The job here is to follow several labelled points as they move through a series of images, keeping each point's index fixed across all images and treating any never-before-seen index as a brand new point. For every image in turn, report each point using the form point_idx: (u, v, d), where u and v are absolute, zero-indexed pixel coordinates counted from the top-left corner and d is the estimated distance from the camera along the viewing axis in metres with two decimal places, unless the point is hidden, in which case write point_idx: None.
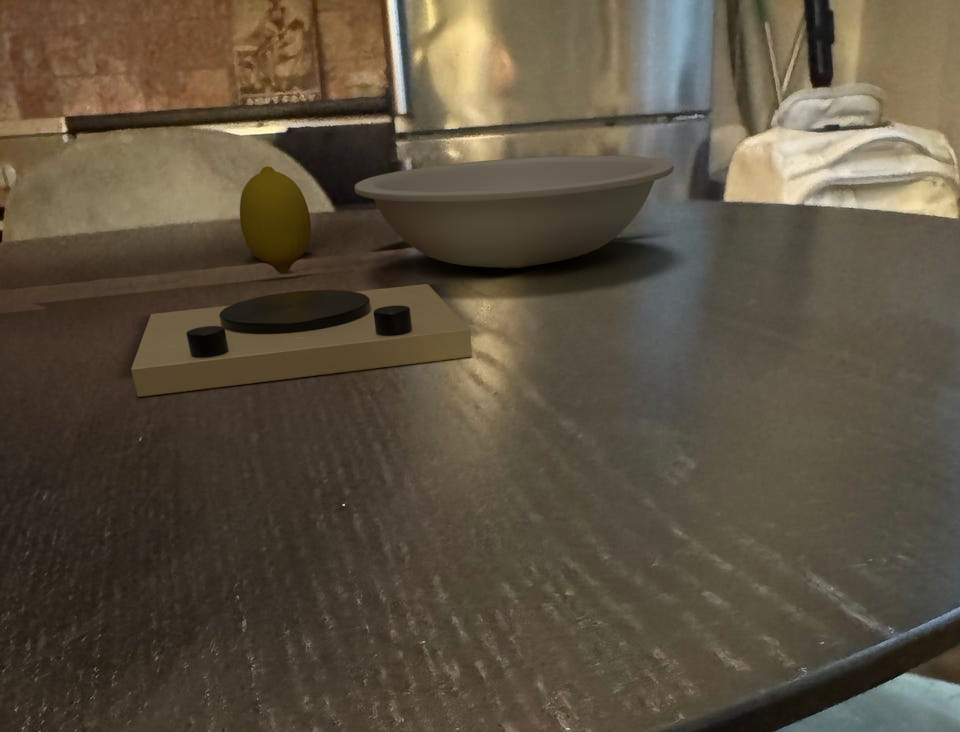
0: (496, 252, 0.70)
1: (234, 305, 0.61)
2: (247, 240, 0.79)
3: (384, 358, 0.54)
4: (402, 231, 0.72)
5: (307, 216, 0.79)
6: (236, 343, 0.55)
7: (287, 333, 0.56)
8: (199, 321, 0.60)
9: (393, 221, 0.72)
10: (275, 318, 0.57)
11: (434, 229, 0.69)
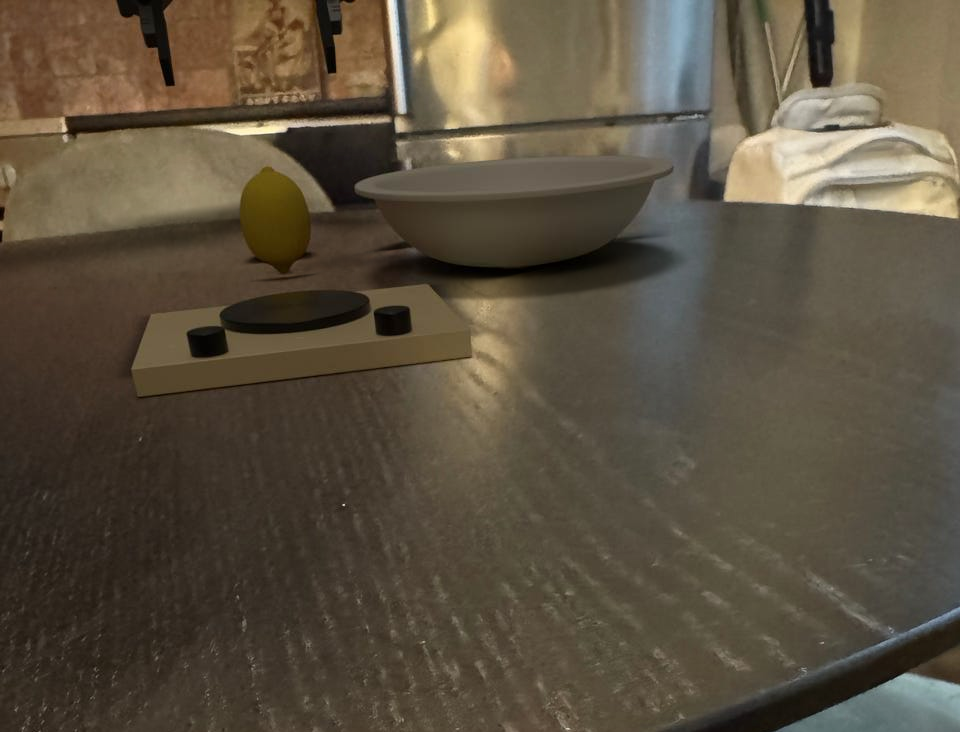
0: (496, 252, 0.70)
1: (234, 305, 0.61)
2: (247, 240, 0.79)
3: (384, 358, 0.54)
4: (402, 231, 0.72)
5: (307, 216, 0.79)
6: (236, 343, 0.55)
7: (287, 333, 0.56)
8: (199, 321, 0.60)
9: (393, 221, 0.72)
10: (275, 318, 0.57)
11: (434, 229, 0.69)
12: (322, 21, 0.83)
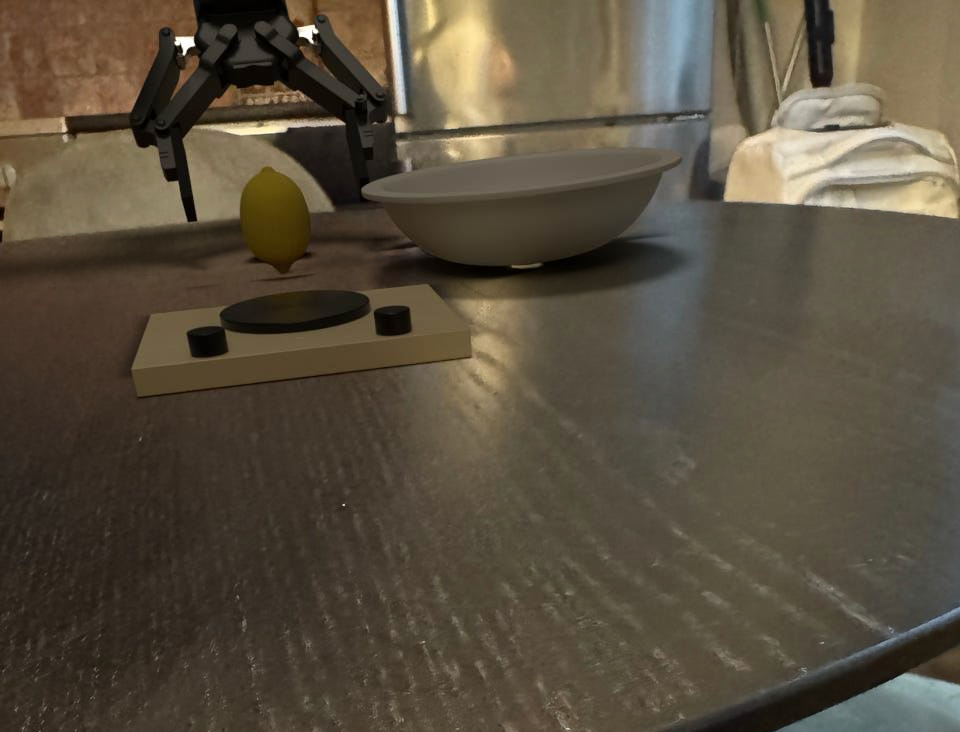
0: (510, 250, 0.69)
1: (234, 305, 0.61)
2: (247, 240, 0.79)
3: (384, 358, 0.54)
4: (413, 233, 0.72)
5: (307, 216, 0.79)
6: (236, 343, 0.55)
7: (287, 333, 0.56)
8: (199, 321, 0.60)
9: (403, 224, 0.71)
10: (275, 318, 0.57)
11: (447, 230, 0.69)
12: (354, 149, 0.77)
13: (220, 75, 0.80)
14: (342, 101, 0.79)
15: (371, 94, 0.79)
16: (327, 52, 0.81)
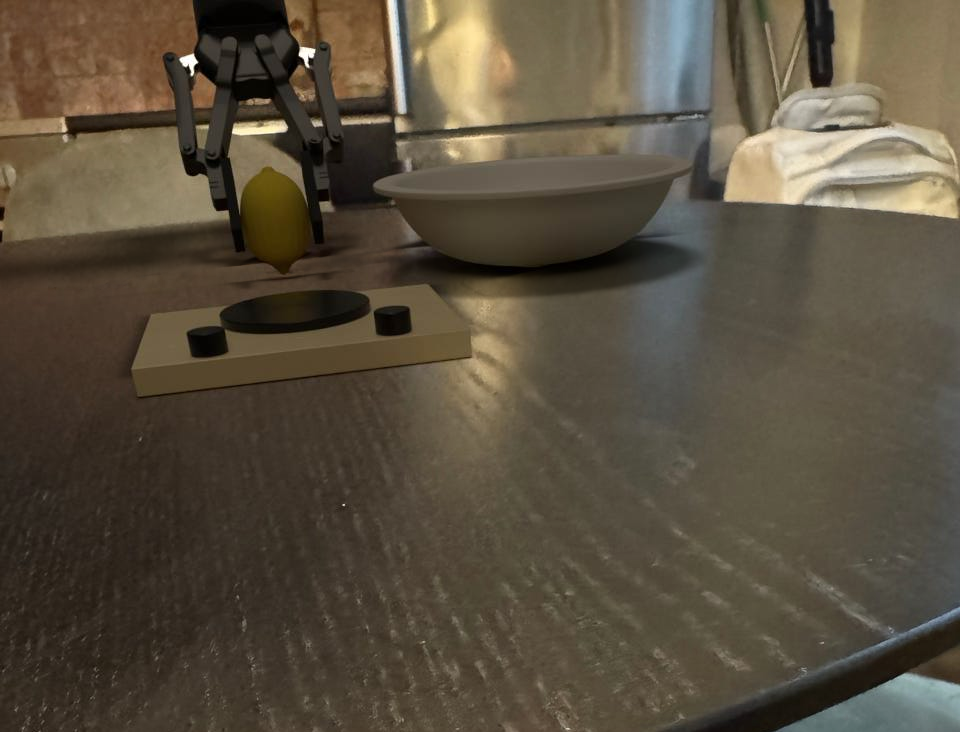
0: (536, 249, 0.69)
1: (234, 305, 0.61)
2: (247, 240, 0.79)
3: (384, 358, 0.54)
4: (433, 232, 0.71)
5: (307, 216, 0.79)
6: (236, 343, 0.55)
7: (287, 333, 0.56)
8: (199, 321, 0.60)
9: (423, 222, 0.71)
10: (275, 318, 0.57)
11: (474, 228, 0.68)
12: (308, 192, 0.76)
13: None
14: (301, 136, 0.78)
15: (329, 132, 0.78)
16: (314, 79, 0.80)
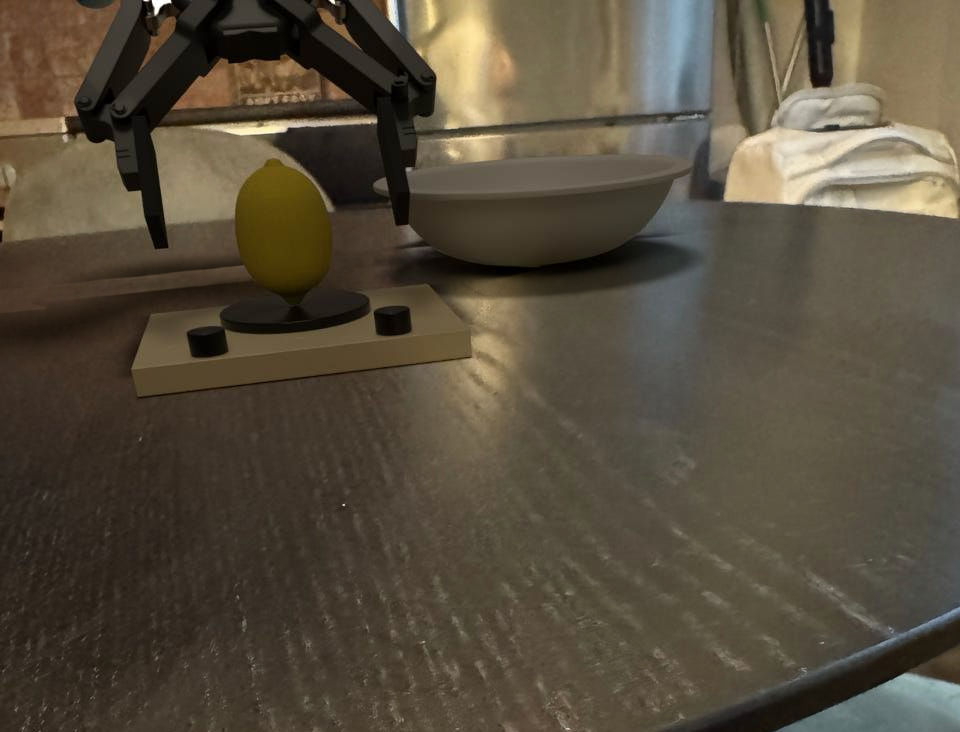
0: (536, 250, 0.69)
1: (234, 305, 0.61)
2: (245, 261, 0.57)
3: (384, 358, 0.54)
4: (433, 231, 0.71)
5: (328, 227, 0.57)
6: (236, 343, 0.55)
7: (287, 333, 0.56)
8: (199, 321, 0.60)
9: (423, 222, 0.71)
10: (275, 318, 0.57)
11: (474, 228, 0.68)
12: (390, 152, 0.55)
13: (206, 44, 0.58)
14: (373, 85, 0.57)
15: (414, 76, 0.57)
16: (354, 16, 0.59)
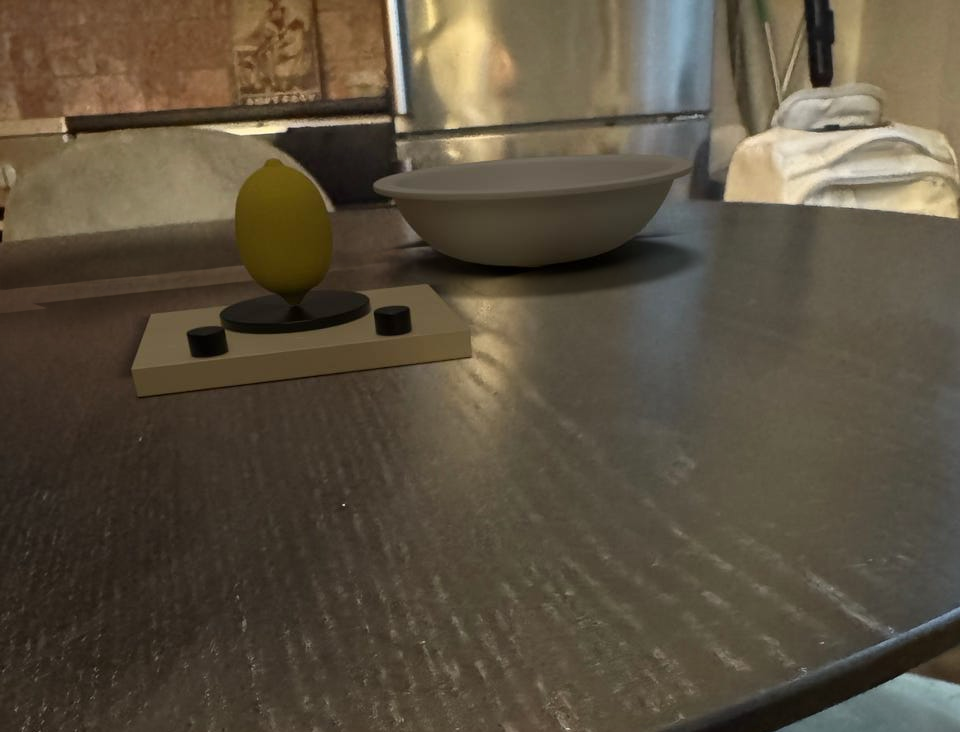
0: (536, 250, 0.69)
1: (234, 305, 0.61)
2: (245, 261, 0.57)
3: (384, 358, 0.54)
4: (433, 232, 0.71)
5: (328, 227, 0.57)
6: (236, 343, 0.55)
7: (287, 333, 0.56)
8: (199, 321, 0.60)
9: (423, 222, 0.71)
10: (275, 318, 0.57)
11: (474, 228, 0.68)
12: None
13: None
14: None
15: None
16: None
